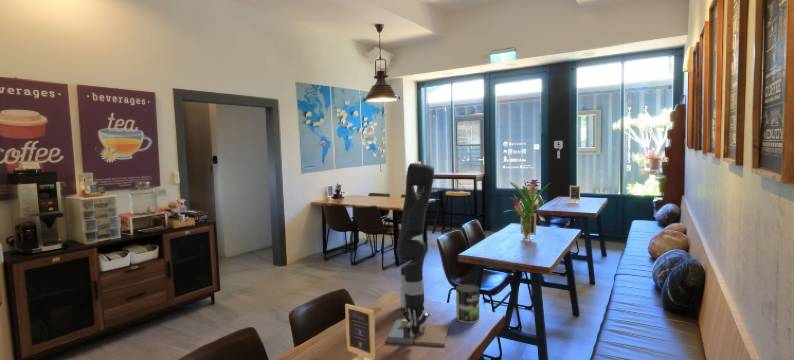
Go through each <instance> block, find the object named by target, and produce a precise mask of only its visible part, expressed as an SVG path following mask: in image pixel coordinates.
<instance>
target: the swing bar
mask: <svg viewBox="0 0 794 360" xmlns="http://www.w3.org/2000/svg"><path fill="white" fill-rule="evenodd" d="M426 324H427V320H426V321H425V322H424V323H423V324H421V325H420V326H419V327H420V331H422V330H426ZM413 335H414V334H413V332H412V325H411V324H409V325H407V326H405V327H403V338H406V339H409V338H410V337H412V336H413Z"/></svg>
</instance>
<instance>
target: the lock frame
mask: <svg viewBox="0 0 794 360" xmlns="http://www.w3.org/2000/svg"><path fill="white" fill-rule="evenodd" d="M409 324H411V323H410V322H407V320H406V318H405V319H404V318H402V319H396V320H395V322H394V324H393V326H392V327H391V330H390V332H389V334H388V336H387V342H388V343H391V344H394V343H395V344H406V345H413V344H414V345H416V346H417V345H418V346H432V347H433V346H434V347H444V348H445V346H446V342H447V337H448V332H449V325H446V324H445V325H444V324H431V323H430V324H429V323H426V330H422V331H420V332H419V334H417V335H413V336H412V337H410V338H409V339H406V338H403V327H405V326H407V325H409Z"/></svg>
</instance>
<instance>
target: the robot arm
mask: <svg viewBox="0 0 794 360" xmlns="http://www.w3.org/2000/svg"><path fill="white" fill-rule="evenodd" d="M434 176H435V168H434V166H432V165H429V164H423V163H415V162H414V163H409V165H408V168H407V171H406V179H405V182H406V183H405V194H404V202H403V206H402V207H403V208H402V214H401V224H400V230H399V236H398V240H397V244H396V256H397V258H398V260H400V261H409V262H408V263H407V264H405V265H403V266H401V268H400V289H399V291H400V307H401V309H400V310H401V312H402V314H403V316H404V318H405V320H407V322H410V323H411V325H412V332H413V334H414V335H417V334H419V332H420V327H419V326H420V325H421V324H423V323H424V322H425V321H426V322H427V319H428V318H429V317H430V313H429V312H427V311H426V310H425V305H424V304H425V289H424V287H425V285H424V280H423V279H424V278H423V277H424V275H423V274H424V273H423V268H424V267H423V266H424V261H425V258H426V254H427V245H426V243H425V242H424V241H423V240H419V239H417V238H416V239H413V238H415V237H419V236H422V235H424V232H425V224H426V216H427V210H428V206H429V201H430V198H431V193H432V189H433V183H434V178H435V177H434ZM415 187H423V191H422V194H421V195H420V196H419V197H418V195H417V193H416V191H415Z"/></svg>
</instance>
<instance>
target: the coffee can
mask: <svg viewBox="0 0 794 360" xmlns="http://www.w3.org/2000/svg"><path fill="white" fill-rule="evenodd" d="M455 293H456V295H455V296H456V297H455V300H456V306H455V307H456V308H455V309H456V312H455V313H456V316H455V317H456V320H457V321H458V322H459V323H460V322H461V323H462V324H463V323H464V324H475V323H477V322H479V321H480V287H479V286H478V285H476V284H471V283H470V284H469V283H463V284H459V285H456V286H455Z"/></svg>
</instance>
